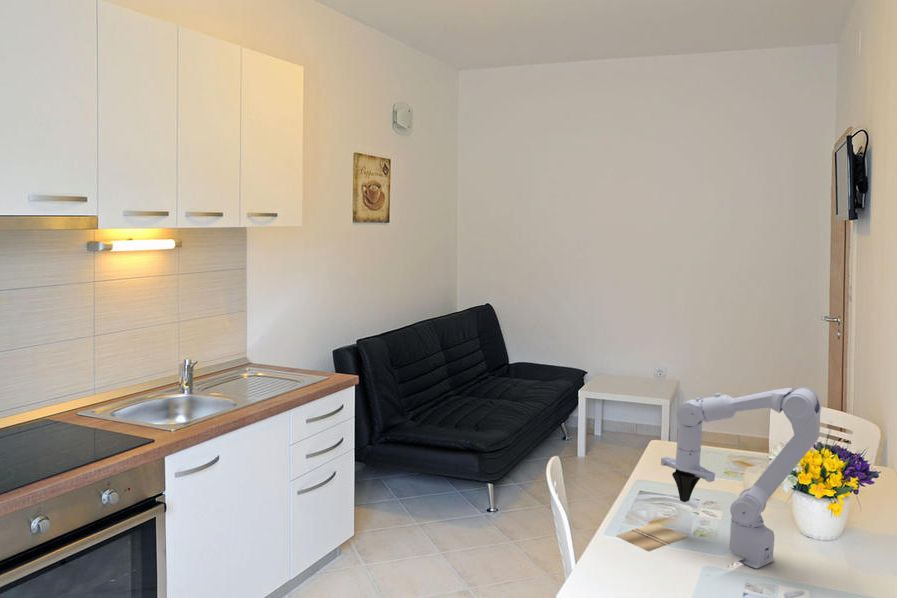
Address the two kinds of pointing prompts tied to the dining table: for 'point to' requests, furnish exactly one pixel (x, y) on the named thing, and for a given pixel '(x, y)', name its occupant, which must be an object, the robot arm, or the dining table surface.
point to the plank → (661, 533)
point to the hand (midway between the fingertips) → (684, 500)
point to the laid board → (641, 540)
